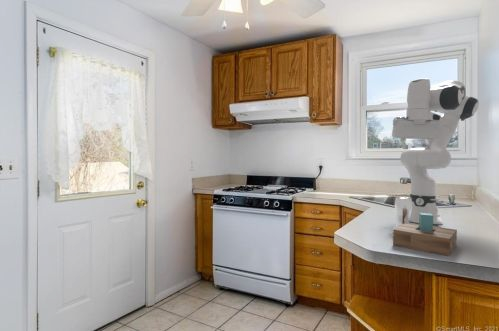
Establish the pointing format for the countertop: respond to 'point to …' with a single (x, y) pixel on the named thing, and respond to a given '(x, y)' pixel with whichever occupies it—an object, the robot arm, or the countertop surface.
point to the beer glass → (403, 210)
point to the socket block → (425, 238)
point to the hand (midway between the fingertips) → (416, 149)
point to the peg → (426, 222)
